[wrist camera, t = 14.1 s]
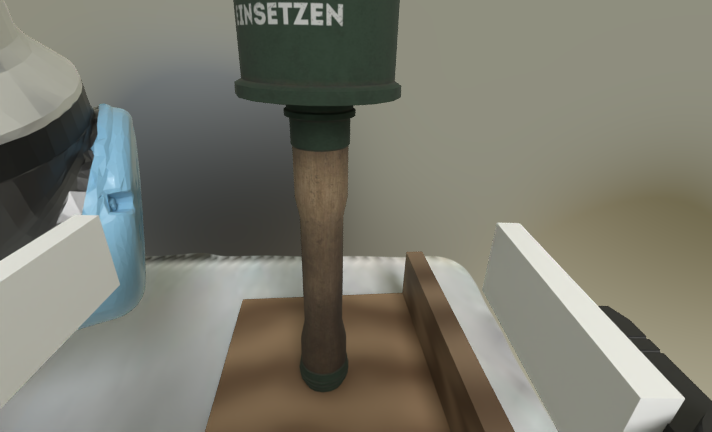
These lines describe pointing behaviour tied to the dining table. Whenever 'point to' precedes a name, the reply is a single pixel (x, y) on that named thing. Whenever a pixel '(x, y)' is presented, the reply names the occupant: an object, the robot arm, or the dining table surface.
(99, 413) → the dining table surface
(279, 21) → the stick grenade
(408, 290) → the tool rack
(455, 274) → the dining table surface
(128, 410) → the dining table surface
